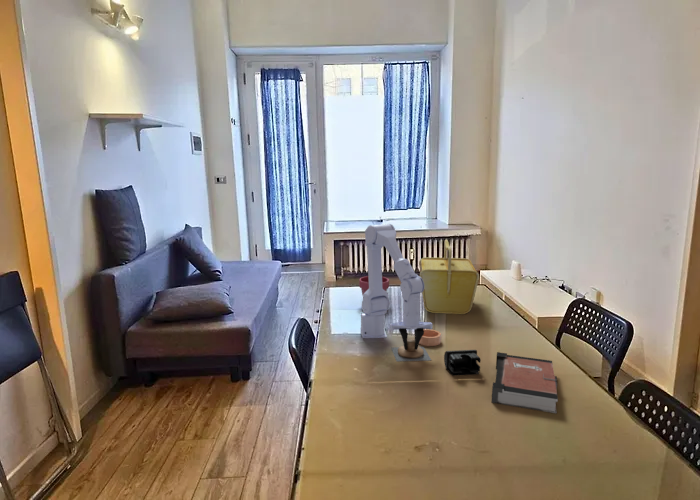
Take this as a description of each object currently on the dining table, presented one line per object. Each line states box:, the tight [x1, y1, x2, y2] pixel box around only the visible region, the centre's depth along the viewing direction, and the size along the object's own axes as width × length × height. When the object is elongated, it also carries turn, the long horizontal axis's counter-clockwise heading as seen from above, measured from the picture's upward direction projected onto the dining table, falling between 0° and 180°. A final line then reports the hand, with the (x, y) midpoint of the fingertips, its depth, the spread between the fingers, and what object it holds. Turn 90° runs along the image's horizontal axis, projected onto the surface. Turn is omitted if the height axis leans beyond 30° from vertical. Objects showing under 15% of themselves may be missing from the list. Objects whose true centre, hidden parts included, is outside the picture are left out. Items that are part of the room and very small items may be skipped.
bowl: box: [419, 329, 442, 347], centre depth 172 cm, size 9×9×4 cm
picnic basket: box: [418, 239, 480, 315], centre depth 215 cm, size 29×26×30 cm
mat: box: [390, 346, 432, 362], centre depth 160 cm, size 12×12×1 cm
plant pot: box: [358, 275, 390, 296], centre depth 217 cm, size 14×14×13 cm
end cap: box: [443, 349, 481, 377], centre depth 147 cm, size 10×7×7 cm
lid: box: [398, 338, 424, 358], centre depth 160 cm, size 9×9×4 cm
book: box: [490, 351, 559, 414], centre depth 137 cm, size 26×18×5 cm
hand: (410, 348), depth 160 cm, fingers closed on lid, 3 cm apart
